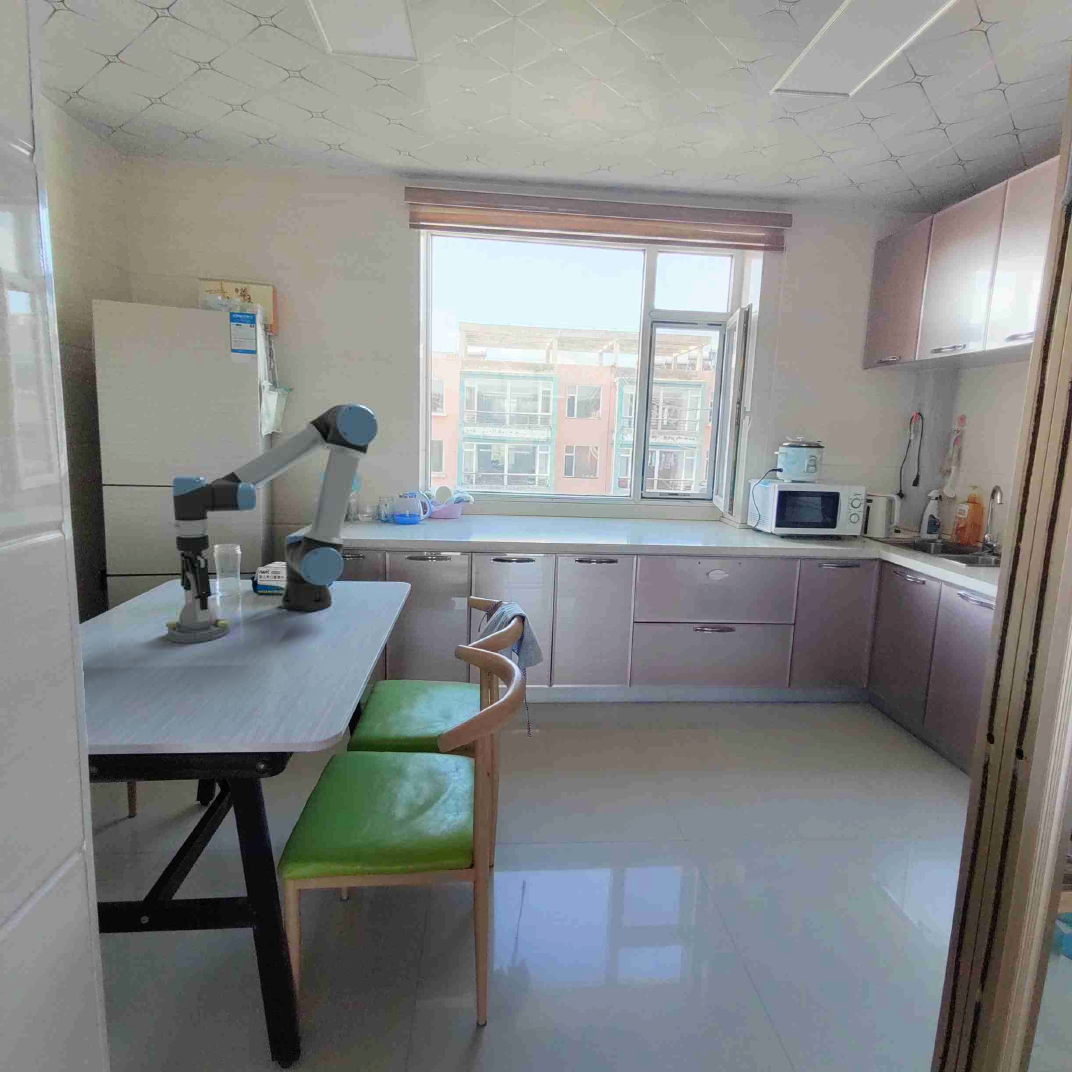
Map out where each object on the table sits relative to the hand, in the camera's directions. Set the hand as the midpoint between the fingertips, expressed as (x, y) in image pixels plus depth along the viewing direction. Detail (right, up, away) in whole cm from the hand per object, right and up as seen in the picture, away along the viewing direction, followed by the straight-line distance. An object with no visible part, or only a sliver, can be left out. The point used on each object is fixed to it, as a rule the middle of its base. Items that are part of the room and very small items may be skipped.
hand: (197, 616), depth 166 cm
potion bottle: (0, -4, 0) cm, 4 cm away
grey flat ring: (0, -5, +1) cm, 5 cm away
